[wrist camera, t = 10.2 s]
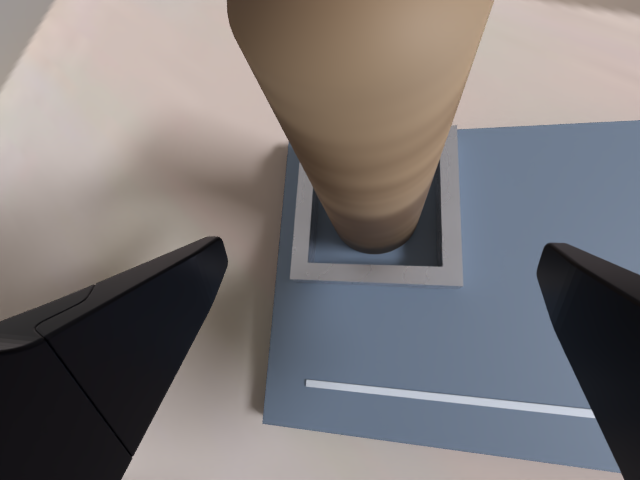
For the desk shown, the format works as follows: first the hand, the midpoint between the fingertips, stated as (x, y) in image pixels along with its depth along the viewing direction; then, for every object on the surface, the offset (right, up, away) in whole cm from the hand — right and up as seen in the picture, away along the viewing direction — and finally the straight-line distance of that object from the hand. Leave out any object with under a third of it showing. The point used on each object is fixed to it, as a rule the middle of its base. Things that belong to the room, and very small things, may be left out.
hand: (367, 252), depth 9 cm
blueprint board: (+7, -1, +6) cm, 10 cm away
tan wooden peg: (+1, +2, +7) cm, 8 cm away
